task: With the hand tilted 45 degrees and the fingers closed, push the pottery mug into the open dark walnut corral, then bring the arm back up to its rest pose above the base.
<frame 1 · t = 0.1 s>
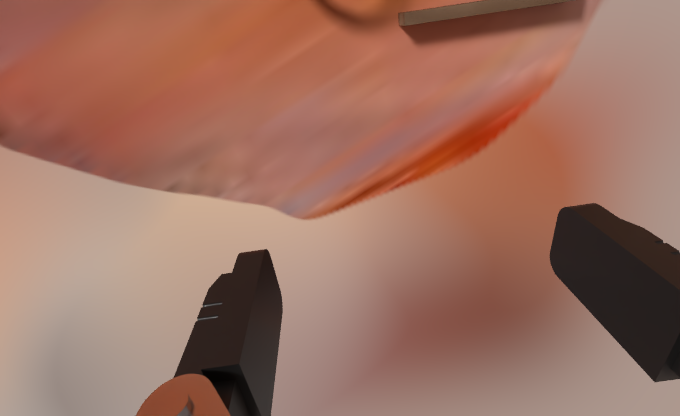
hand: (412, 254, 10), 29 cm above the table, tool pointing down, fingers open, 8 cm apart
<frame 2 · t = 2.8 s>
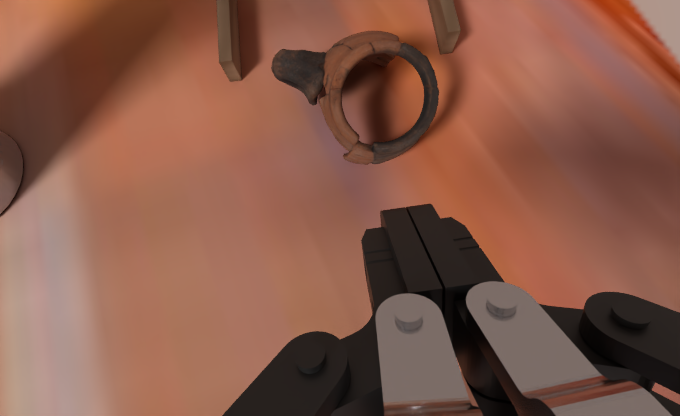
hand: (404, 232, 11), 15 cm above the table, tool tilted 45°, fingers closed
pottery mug: (354, 112, 29), on the table
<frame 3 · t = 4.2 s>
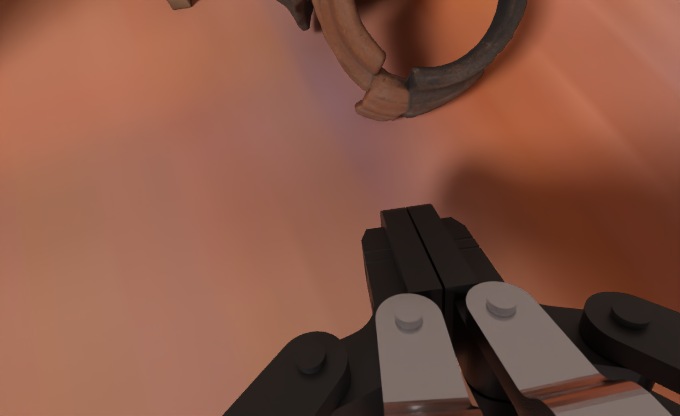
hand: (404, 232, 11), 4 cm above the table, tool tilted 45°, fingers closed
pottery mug: (369, 43, 18), on the table
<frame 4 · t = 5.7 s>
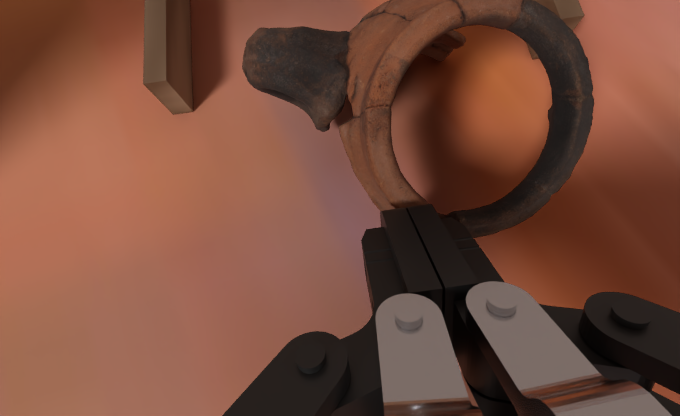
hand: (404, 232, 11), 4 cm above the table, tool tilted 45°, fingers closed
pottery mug: (394, 139, 17), on the table, touching gripper
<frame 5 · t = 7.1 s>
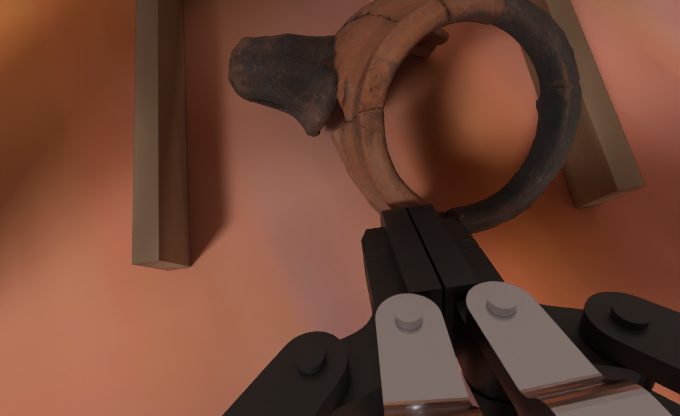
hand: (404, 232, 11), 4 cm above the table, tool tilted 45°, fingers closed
wooden corral: (354, 80, 17), on the table
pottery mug: (385, 139, 17), on the table, touching gripper
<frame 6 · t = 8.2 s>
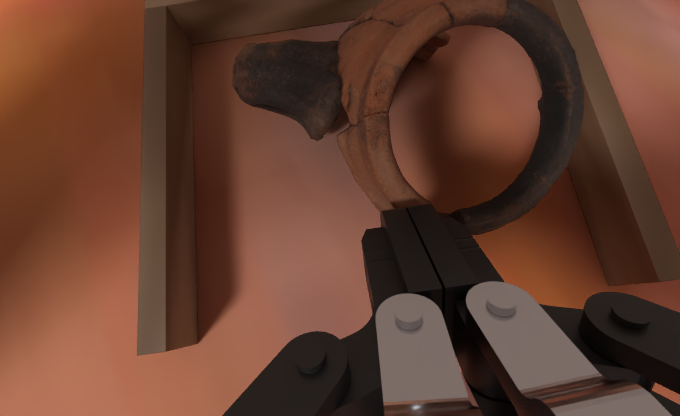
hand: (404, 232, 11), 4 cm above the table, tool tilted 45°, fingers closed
wooden corral: (370, 139, 16), on the table
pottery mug: (387, 142, 17), on the table
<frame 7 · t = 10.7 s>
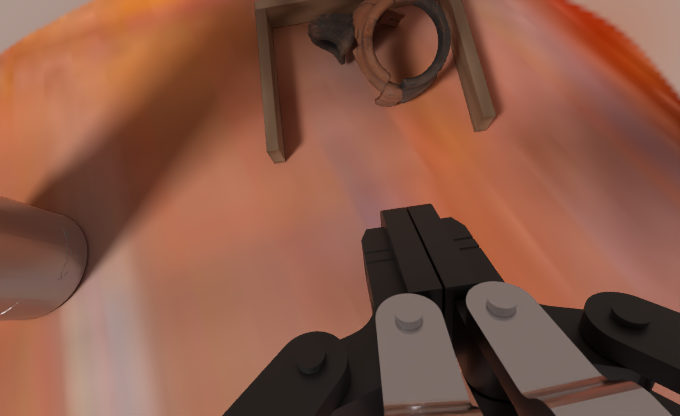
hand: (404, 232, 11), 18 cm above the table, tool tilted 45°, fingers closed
wooden corral: (365, 71, 33), on the table
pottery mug: (376, 67, 34), on the table
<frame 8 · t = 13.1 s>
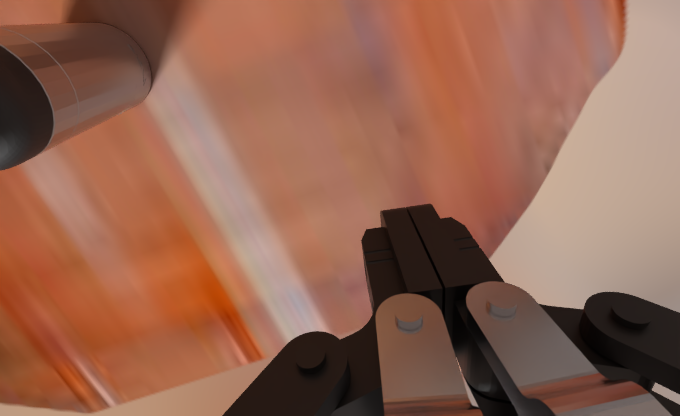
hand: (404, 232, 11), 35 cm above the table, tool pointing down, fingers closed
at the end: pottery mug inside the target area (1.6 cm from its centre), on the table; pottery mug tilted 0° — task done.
